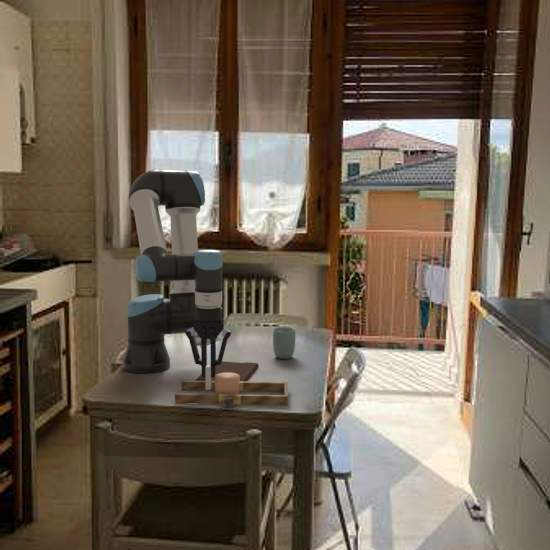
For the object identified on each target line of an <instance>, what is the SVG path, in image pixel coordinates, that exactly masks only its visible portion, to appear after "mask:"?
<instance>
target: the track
mask: <svg viewBox="0 0 550 550" xmlns="http://www.w3.org/2000/svg"><path fill="white" fill-rule="evenodd" d="M180 386H181V387H180V389H188V390H187V391H207V390H206V381H195V380H181V383H180ZM210 391H215V381H212V388H211V390H210ZM240 392H283V393H284V394H215V393H174V404H175V403H198V404H197V405H224V408H227V409H230V408H231V409H233V408H234V405H243V406H244V405H245V406H249V405H250V406H255V405H256V406H288V405H289V382H286V381H283V382H282V381H247V382H240Z"/></svg>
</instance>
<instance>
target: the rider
mask: <svg viewBox="0 0 550 550" xmlns="http://www.w3.org/2000/svg"><path fill="white" fill-rule="evenodd" d="M240 392H241V391H240V376H239V375H238V374H236V373H229V372H227V373H219V374H217V375H215V390H214V394H240ZM240 395H241V394H240Z"/></svg>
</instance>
